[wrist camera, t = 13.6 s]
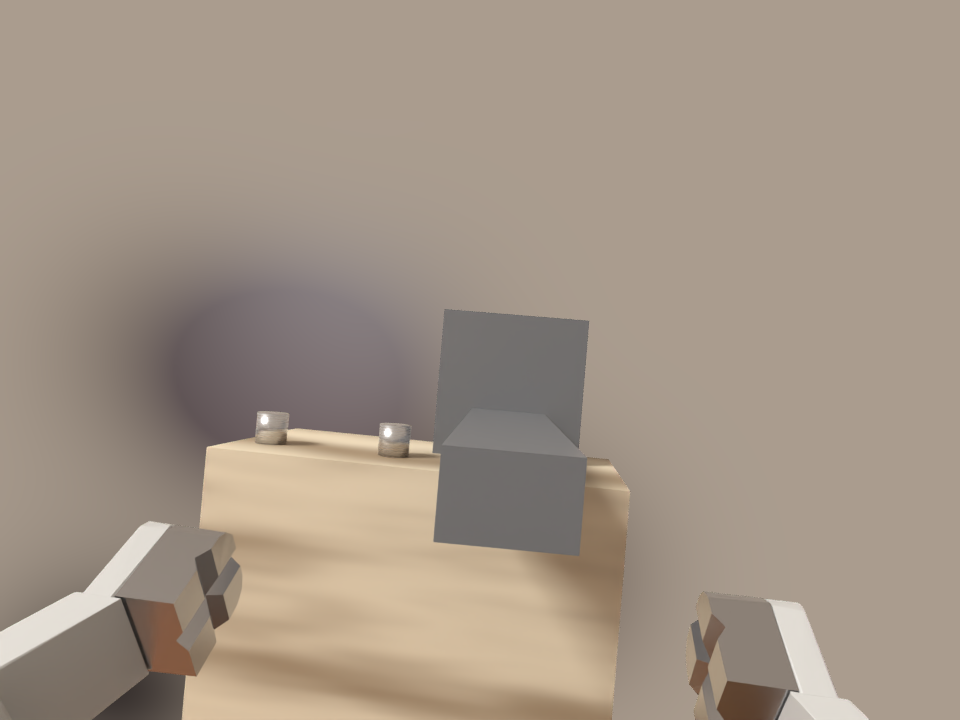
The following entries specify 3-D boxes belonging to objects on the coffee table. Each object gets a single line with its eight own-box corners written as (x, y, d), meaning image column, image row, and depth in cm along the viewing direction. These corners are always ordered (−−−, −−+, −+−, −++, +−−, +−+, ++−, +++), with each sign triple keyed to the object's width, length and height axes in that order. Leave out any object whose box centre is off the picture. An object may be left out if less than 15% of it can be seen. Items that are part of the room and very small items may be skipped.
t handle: (653, 563, 13) (676, 269, 13) (360, 535, 13) (386, 246, 13) (569, 456, 29) (580, 326, 29) (439, 444, 29) (450, 315, 29)
